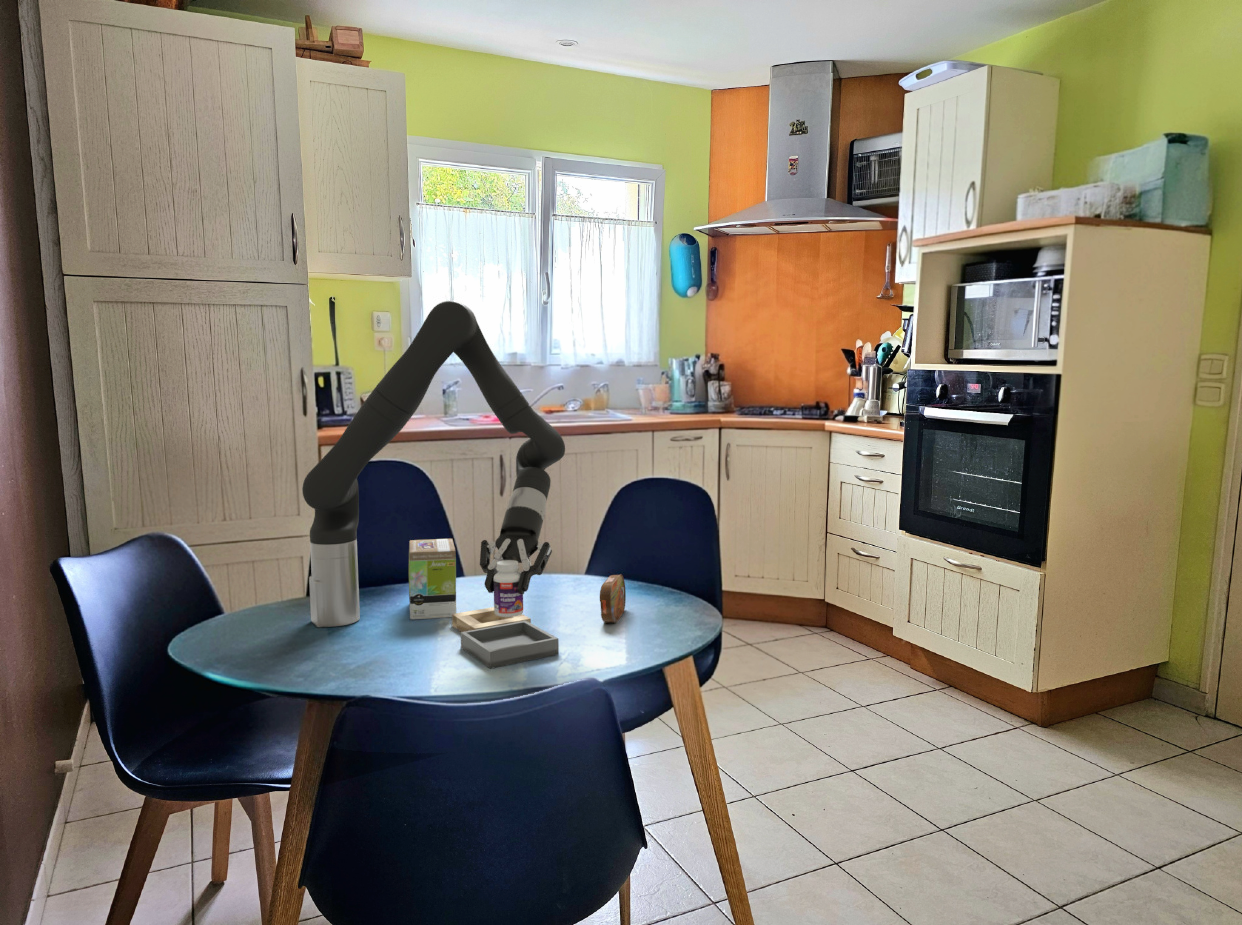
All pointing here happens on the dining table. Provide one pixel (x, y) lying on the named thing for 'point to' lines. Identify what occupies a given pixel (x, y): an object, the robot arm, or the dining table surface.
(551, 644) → the charcoal tray
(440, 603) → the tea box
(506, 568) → the pill bottle
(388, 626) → the dining table surface
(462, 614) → the oak collar
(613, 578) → the tin
